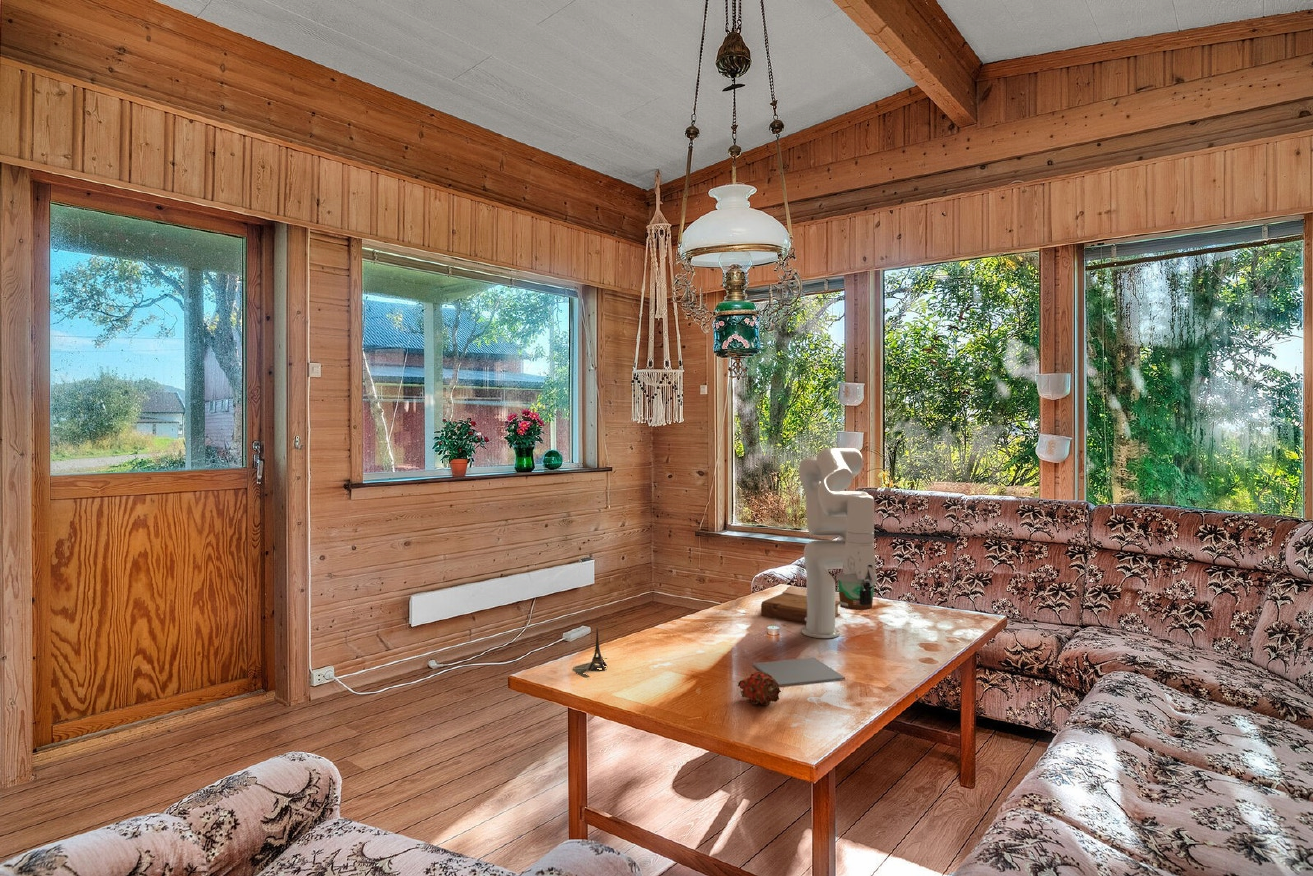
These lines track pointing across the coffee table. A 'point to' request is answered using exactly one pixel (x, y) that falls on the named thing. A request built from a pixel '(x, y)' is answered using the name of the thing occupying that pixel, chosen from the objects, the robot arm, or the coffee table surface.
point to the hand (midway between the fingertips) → (859, 601)
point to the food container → (852, 592)
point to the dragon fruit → (760, 688)
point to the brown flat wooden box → (788, 607)
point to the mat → (798, 671)
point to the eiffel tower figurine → (591, 665)
